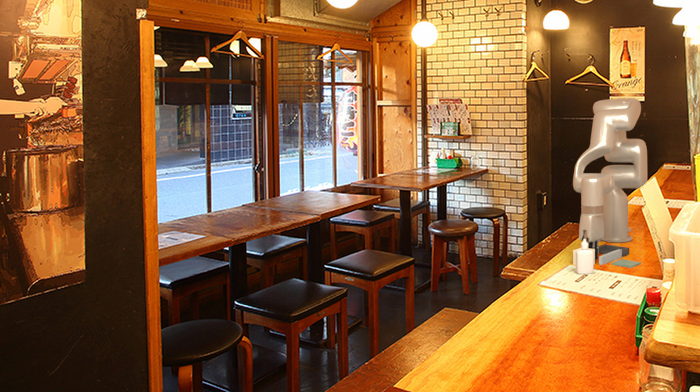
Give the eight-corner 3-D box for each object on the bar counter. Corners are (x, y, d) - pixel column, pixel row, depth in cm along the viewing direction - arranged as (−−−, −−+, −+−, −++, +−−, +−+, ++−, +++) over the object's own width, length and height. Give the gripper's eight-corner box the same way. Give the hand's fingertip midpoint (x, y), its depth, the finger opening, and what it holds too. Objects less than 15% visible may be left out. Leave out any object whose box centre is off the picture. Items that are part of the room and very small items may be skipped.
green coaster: (621, 260, 218) (621, 259, 218) (640, 263, 213) (640, 262, 213) (611, 264, 214) (611, 263, 214) (631, 267, 208) (631, 266, 208)
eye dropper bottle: (577, 270, 209) (577, 237, 207) (594, 272, 206) (594, 238, 204) (574, 273, 205) (574, 240, 204) (592, 275, 202) (592, 241, 201)
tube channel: (595, 253, 231) (595, 245, 230) (621, 257, 223) (621, 249, 222) (575, 260, 222) (575, 252, 222) (602, 265, 214) (602, 256, 214)
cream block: (582, 261, 220) (582, 247, 219) (594, 263, 216) (594, 249, 215) (573, 265, 216) (573, 250, 216) (585, 267, 213) (585, 252, 212)
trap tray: (604, 250, 234) (604, 244, 234) (629, 254, 226) (629, 247, 226) (597, 252, 231) (597, 246, 231) (622, 256, 223) (622, 250, 223)
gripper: (593, 206, 225) (593, 253, 227) (571, 212, 216) (572, 261, 218) (612, 207, 219) (612, 256, 221) (591, 214, 210) (591, 264, 212)
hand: (592, 258), depth 220 cm, fingers closed
